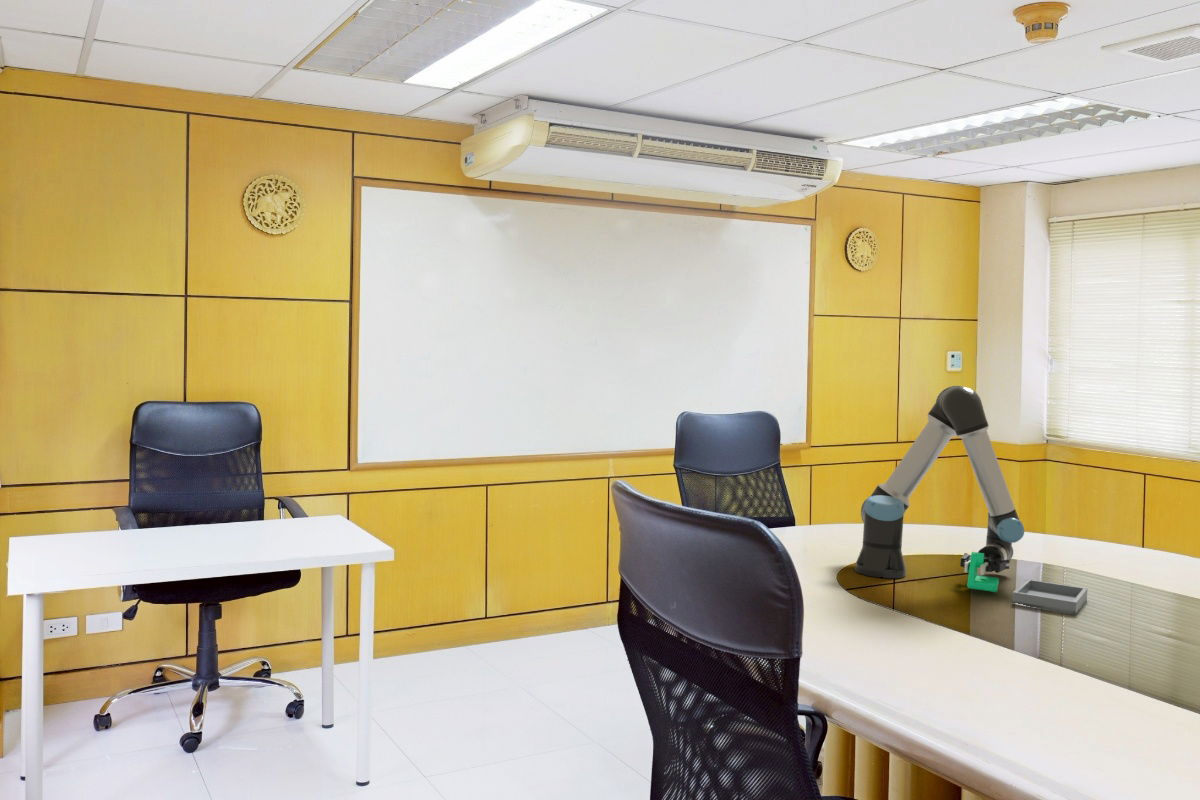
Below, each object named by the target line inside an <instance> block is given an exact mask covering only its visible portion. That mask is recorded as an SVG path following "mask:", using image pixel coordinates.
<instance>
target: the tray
mask: <svg viewBox="0 0 1200 800" xmlns="http://www.w3.org/2000/svg"><path fill="white" fill-rule="evenodd" d="M1087 600H1088V588H1086V587H1080V586H1074V585H1068V584H1061V583H1056V582H1049V581H1048V582H1047V581H1042V580H1036V579H1029V578H1027V579H1026V580H1025V581H1024V582H1022V584H1021V585H1019V586H1018V587H1017V588H1016V589H1015V590H1014V591H1012V600H1011V603H1012V602H1013V603H1018V604H1023V605H1026V606H1030V607H1036V608H1039V609H1038V610H1041V609H1043V610H1042V611H1046V612H1048V611H1049V612H1054V613H1060V614H1065V615H1072V616H1076V615H1077V614H1078V613H1079V611H1080V610H1081V609H1082V607H1084V605H1085V603H1087ZM1077 612H1078V613H1077Z"/></svg>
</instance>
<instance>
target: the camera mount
mask: <svg viewBox="0 0 1200 800" xmlns="http://www.w3.org/2000/svg"><path fill="white" fill-rule="evenodd" d="M970 555H971V559H970V567H969V572H968V575H967V576H968V577H967V585H966V586H967V589H969V590H970V589H972V590H978V591H985V592H992V593H997V592H998V590H999V589H998V588H999V584H1000V583H999V582H1000V578H999V577H996V576H995V577H994V576H987V575H980V574H978V569H980V567H981V565H982V564H983V563H984V553H978V551H977V552H975V551H971V553H970Z"/></svg>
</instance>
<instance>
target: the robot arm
mask: <svg viewBox="0 0 1200 800" xmlns="http://www.w3.org/2000/svg"><path fill="white" fill-rule="evenodd" d="M927 419H928V421H927V423H926V424H925V426H924V427H923V429H922V430H921V432H920V433H919V435H918V436H917V438H916V439H915V440H914V441H913V443H912V444H911V446H910V447H909V449H907V451H906V453H905V454H904V456H903V457H902V459H901V460H900V461H899V462H898V464H897V466H896V467H895V469H894V470H893V471H892V473H891V474H890V476H889V477H888V479H887V480H886V481H885V483H880V484H879V483H878V484H877V486H876V487H875V489H874V490H873V491H872V493H871V494H870V496H867V498H866V499H865V500H864V501H863V503H862V504H861V508H860V517H861V520H862V522H863V532H862V533H863V536H862V548H861V549H860V552H859V555H858V557H857V560H856V563H855V567H854V571H855V572H856V573H858V574H860V575H863V576H867V577H873V578H880V577H883V579H901V578H904V577H906V575H907V567H906V563H905V558H904V556H903V551H902V544H903V528H904V514H905V513H906V511H907V510H908V508H909V507H910V500H909V499H910V497H911V495H912V494H913V493H914V491H915V490H916V489H917V487H918V486H919V484H920V483H921V482H922V480H923V478H925V476H926V474H927V473H928V471H929V470H930V469H931V467H932V466H933V465H934V463H935V462H936V460H937V459H938V457H939V456H940V454H941V453H942V452H943V450H944V448H946V446H947V445H948V443H949V442H950V440H951V439H952V438H953V437H955V436H957V437H958V438H961V440H962V444H963V446H964V449H965V452H966V454H967V457H968V459H969V461H970V462H969V463H970V464H971V468H972V471H973V473H974V476H975V478H976V481H977V483H978V486H979V490H980V492H981V495H982V497H983V500H984V502H985V505H986V508H987V510H988V512H987V528H986V529H987V532H986V538H985V539H986V540H985V541H986V542H985V546H983V547H981V549H979V550H978V551H977V552H978V553H984V563H983V564H982V565H981V567H980V568H979V570H980V571H979V575H981V576H985V574H987V573H992V572H995V573H1001V572H1003V571H1004V570H1009V569H1010V562H1011V559H1012V558H1013V557H1014V548H1013V543H1018V542H1019V541H1021V540H1022V539H1023V538H1024V535H1025V527H1024V524H1023V522H1022V521H1021V520H1020V518H1019V516H1018V513H1017V510H1016V507H1015V504H1014V502H1013V499H1012V497H1011V493H1010V491H1009V487H1008V485H1007V483H1006V480H1005V477H1004V474H1003V471H1002V468H1001V466H1000V463H999V461H998V458H997V455H996V452H995V450H994V447H993V444H992V442H991V439H990V436H989V433H988V428H989V422H988V420H987V417H986V413H985V409H984V406H983V401H982V399H981V397H980V396H979V394H978V393H977V392H976V391H975V390H973V389H972V388H970V387H967V386H962V385H952V386H949V387H946V388H945V389H943V390H942V391H941V392H940V393H939V394H938V395H937V397H936V400H935V403H934V405H933V406H932V407H931V409H930V411H929V412H928V413H927ZM970 559H971V554H969V553H967V552H965V553H963V556H962V557H960V565H959V566H960V568H964V569H963V573H965V574H967V573H969V567H970Z"/></svg>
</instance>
